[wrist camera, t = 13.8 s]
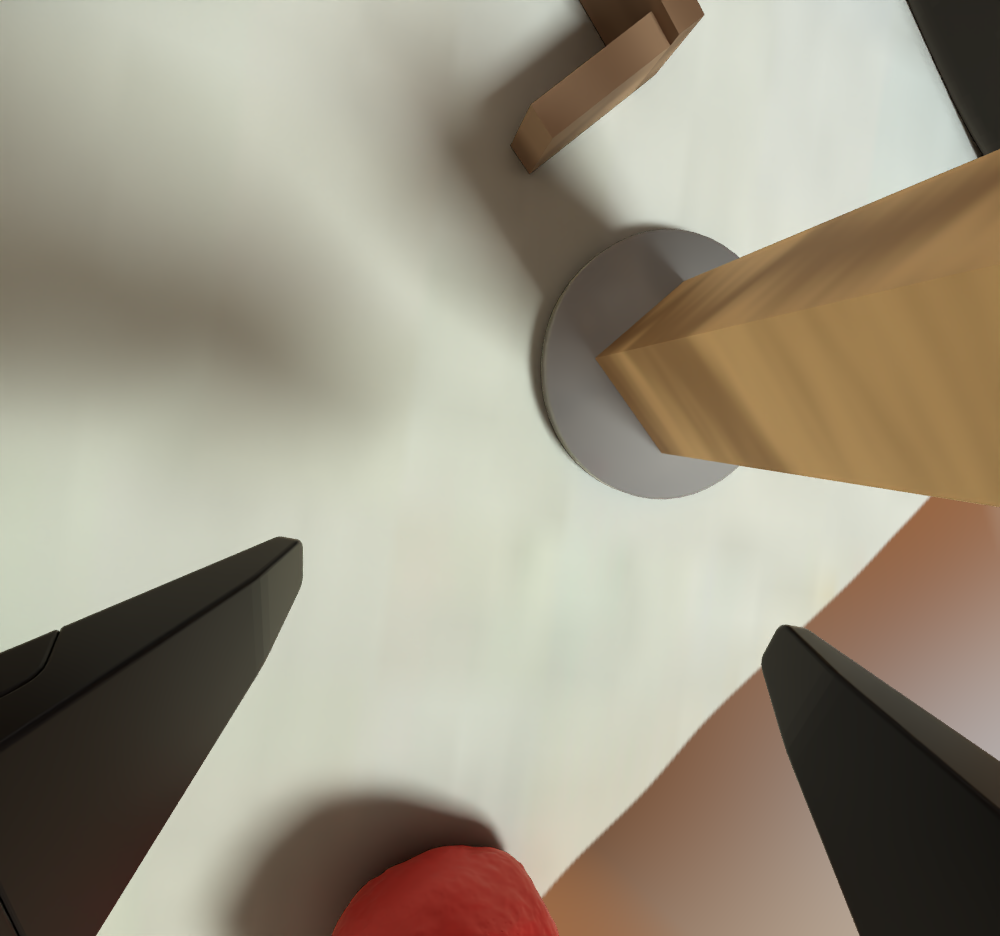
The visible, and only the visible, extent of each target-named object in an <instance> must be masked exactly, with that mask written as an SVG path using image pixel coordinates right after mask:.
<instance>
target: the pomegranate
mask: <svg viewBox="0 0 1000 936" xmlns="http://www.w3.org/2000/svg"><path fill="white" fill-rule="evenodd" d="M332 936H559V933H558V930H557V927H556V924H555V922H554V920H553V919H552V917H551V916H550V914H549V911H548V909H547V907H546V905H545V904H544V902H543V900H542V898H541V897H540V895H539V893H538V891H537V890H536V888H535V886H534V884H533V882H532V880H531V878H530V877H529V876H528V874H527V872H526V871H525V869H524V867H523V865H522V864H521V863H520V862H518V861H517V860H516V859H515V858H514V857H512V856H511V855H510V854H508V853H507V852H504V851H502V850H498V849H495V848H493V847H471V846H465V845H453V846H443V847H437V848H433V849H430V850H428V851H425V852H423V853H421V854H419V855H417V856H415V857H413V858H411V859H409V860H407V861H405V862H403V863H400V864H397V865H395V866H392V867H390V868H388V869H387V870H386V871H385V872H384V873H382V874H381V875H379V876H378V877H376V878H373V879H372V880H370V881H368V882H367V884H366V885H364V886H363V887H362V888H361V889H360V890H359V891H358V893H357V894H356V895H355V896H354V897H353V899H352V900H351V902H350V903H349V905H348V906H347V908H346V909H345V910H344V912H343V914H342V915H341V917H340V919H339V920H338V922H337V924H336V926H335V928H334V930H333V933H332Z"/></svg>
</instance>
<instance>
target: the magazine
mask: <svg viewBox="0 0 1000 936" xmlns="http://www.w3.org/2000/svg"><path fill="white" fill-rule="evenodd" d="M908 2H909V5H910V7H911V10H912V12H913V14H914V17H915V19H916V21H917V23H918V26H919V28H920V30H921V32H922V35H923V37H924V39H925V41H926V44H927V46H928V48H929V50H930V53H931V55H932V57H933V59H934V61H935V63H936V66H937V68H938V70H939V72H940V74H941V76H942V79H943V81H944V83H945V85H946V87H947V89H948V91H949V94H950V96H951V98H952V100H953V102H954V104H955V106H956V108H957V110H958V112H959V114H960V116H961V118H962V119H963V121H964V123H965V125H966V126H967V128H968V130H969V132H970V134H971V135H972V137H973V139H974V140H975V142H976V144H977V145H978V147H979V148H980V150H981V152H982V153H983V155H984V156H985V155H987V154H989V153H992V152H994V151H996V150H999V149H1000V0H908Z"/></svg>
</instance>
